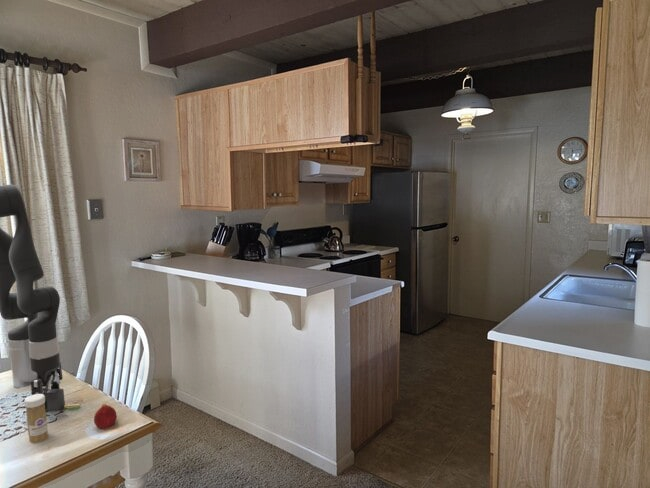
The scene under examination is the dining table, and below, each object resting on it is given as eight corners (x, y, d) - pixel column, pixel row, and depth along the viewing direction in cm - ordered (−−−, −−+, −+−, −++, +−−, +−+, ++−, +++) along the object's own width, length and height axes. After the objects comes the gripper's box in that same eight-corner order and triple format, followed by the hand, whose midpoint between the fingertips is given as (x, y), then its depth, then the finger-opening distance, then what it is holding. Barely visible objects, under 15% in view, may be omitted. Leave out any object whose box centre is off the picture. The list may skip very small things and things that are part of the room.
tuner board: (28, 411, 135) (27, 407, 135) (82, 397, 144) (82, 392, 144) (31, 434, 122) (31, 430, 122) (90, 417, 131) (90, 413, 131)
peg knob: (33, 412, 131) (31, 393, 131) (37, 408, 134) (35, 390, 133) (78, 409, 133) (76, 390, 132) (81, 405, 136) (80, 387, 135)
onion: (122, 425, 126) (120, 400, 125) (106, 436, 121) (104, 410, 120) (106, 422, 128) (104, 397, 127) (90, 433, 123) (88, 406, 122)
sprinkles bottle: (36, 449, 115) (31, 402, 114) (25, 445, 117) (20, 399, 115) (53, 440, 120) (48, 394, 118) (41, 436, 121) (36, 391, 119)
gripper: (42, 345, 137) (47, 393, 139) (18, 363, 123) (24, 416, 125) (67, 343, 138) (72, 391, 140) (46, 361, 124) (52, 414, 127)
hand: (49, 403), depth 133 cm, fingers open, 8 cm apart
